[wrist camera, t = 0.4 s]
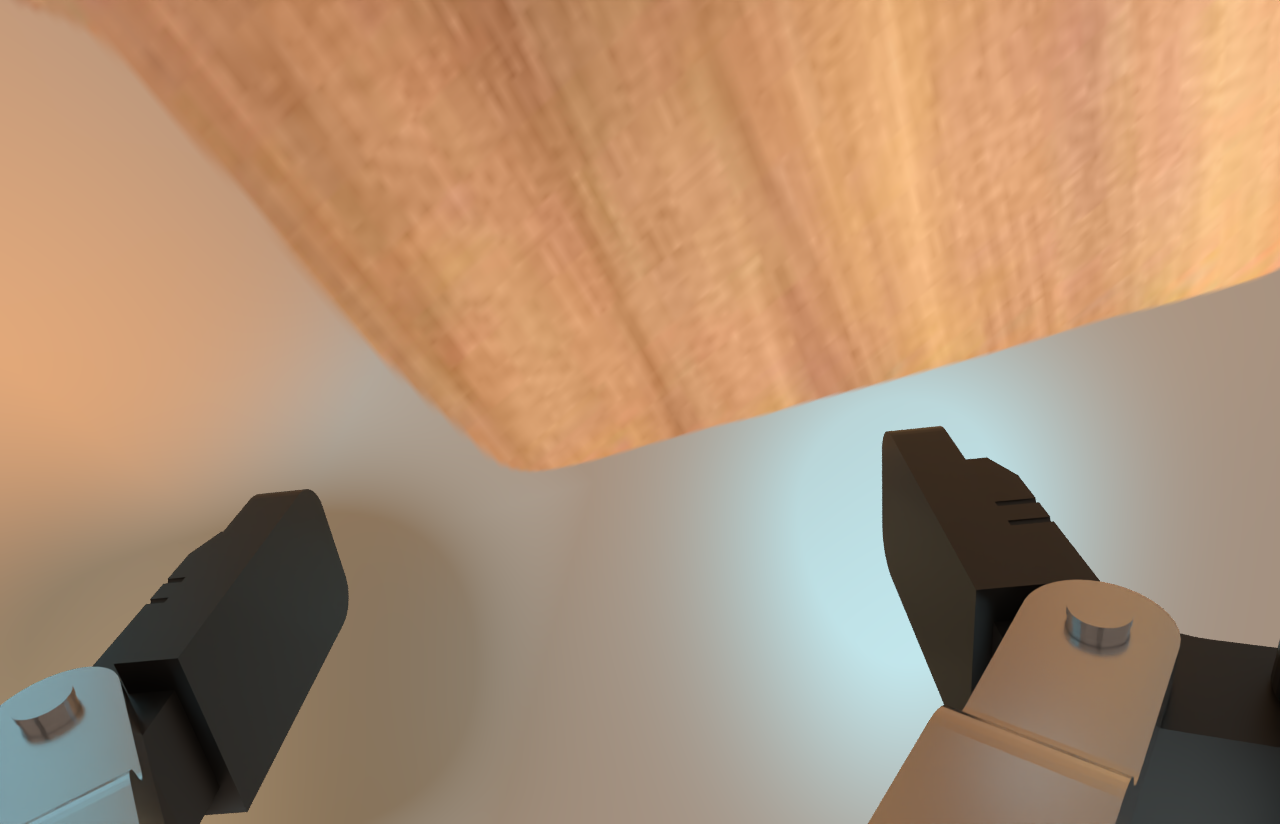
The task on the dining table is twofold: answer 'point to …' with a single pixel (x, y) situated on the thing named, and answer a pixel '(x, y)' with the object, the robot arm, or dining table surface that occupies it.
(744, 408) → the dining table surface
